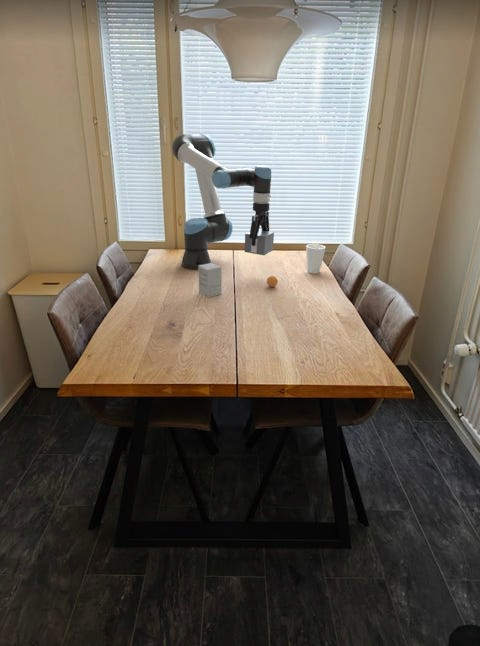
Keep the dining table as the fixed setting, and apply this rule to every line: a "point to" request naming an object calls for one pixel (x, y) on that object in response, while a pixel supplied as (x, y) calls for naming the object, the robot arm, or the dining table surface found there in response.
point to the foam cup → (314, 257)
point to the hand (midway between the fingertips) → (258, 249)
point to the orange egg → (272, 281)
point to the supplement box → (209, 279)
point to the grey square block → (260, 242)
